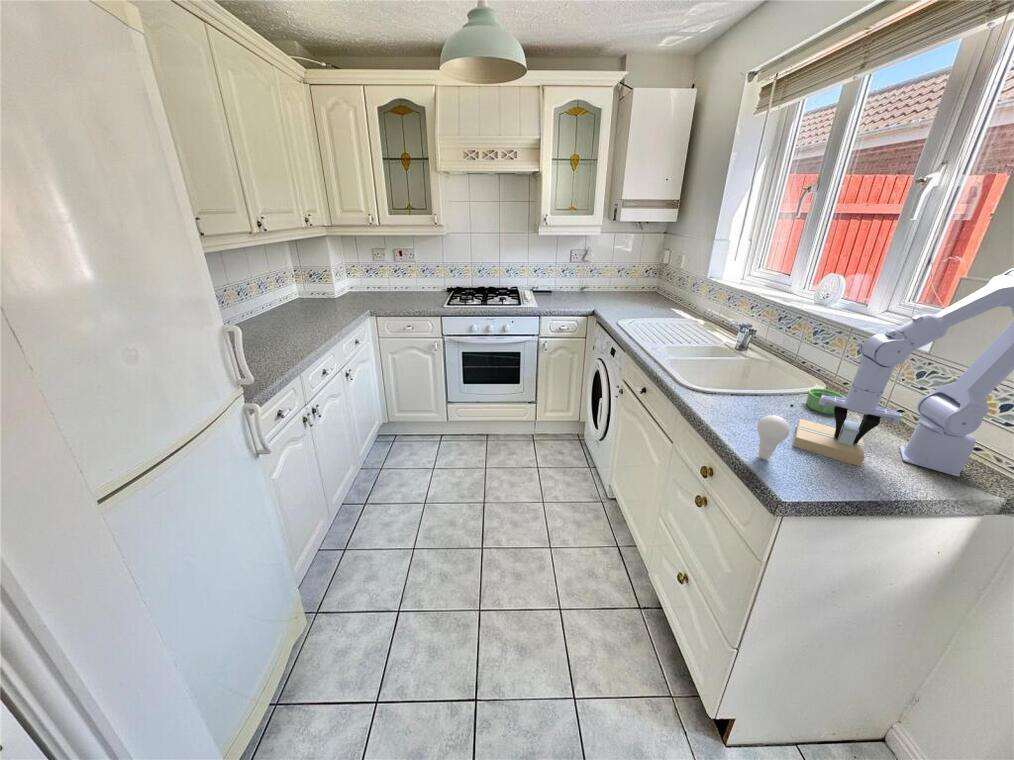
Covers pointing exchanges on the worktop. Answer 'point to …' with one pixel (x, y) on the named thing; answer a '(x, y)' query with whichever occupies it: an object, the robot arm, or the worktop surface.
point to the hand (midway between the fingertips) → (845, 439)
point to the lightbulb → (771, 434)
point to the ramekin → (815, 397)
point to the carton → (826, 442)
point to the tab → (848, 432)
